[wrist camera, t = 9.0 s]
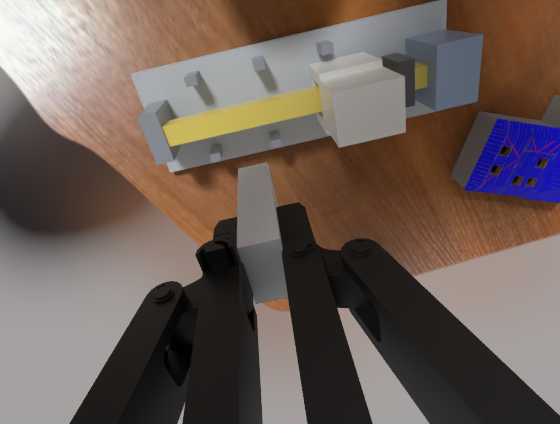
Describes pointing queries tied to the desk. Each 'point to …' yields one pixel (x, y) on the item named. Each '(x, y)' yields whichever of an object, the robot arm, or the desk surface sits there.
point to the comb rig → (297, 85)
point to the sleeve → (359, 98)
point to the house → (513, 155)
